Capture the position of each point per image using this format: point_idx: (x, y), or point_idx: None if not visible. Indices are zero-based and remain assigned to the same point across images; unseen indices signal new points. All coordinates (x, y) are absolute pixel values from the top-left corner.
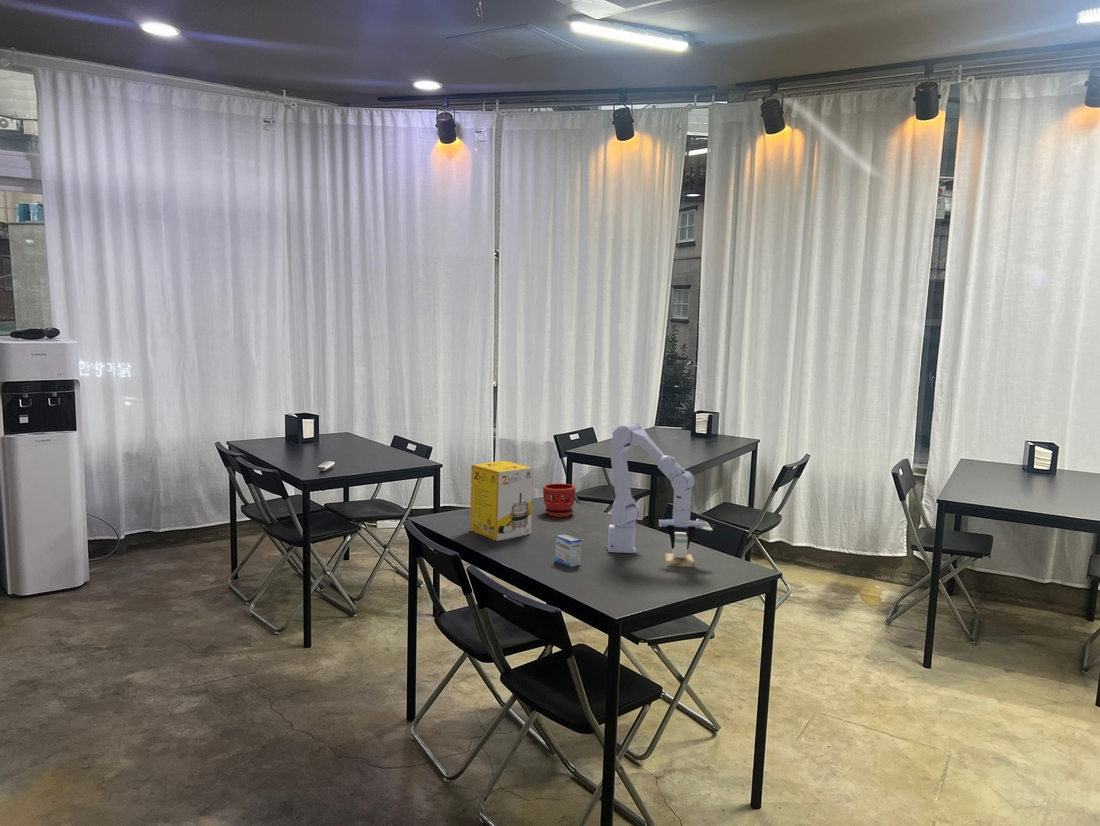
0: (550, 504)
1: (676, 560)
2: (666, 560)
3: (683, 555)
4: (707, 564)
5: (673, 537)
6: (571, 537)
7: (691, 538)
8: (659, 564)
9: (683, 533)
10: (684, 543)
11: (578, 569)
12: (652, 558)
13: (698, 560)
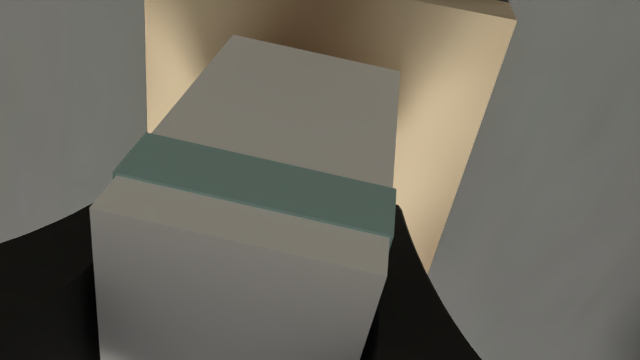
0: None
1: (369, 47)
2: (493, 81)
3: (267, 56)
4: (10, 22)
5: (395, 316)
6: None
7: (29, 235)
8: (583, 54)
9: None
10: (206, 144)
11: None
12: (558, 248)
13: (98, 153)
